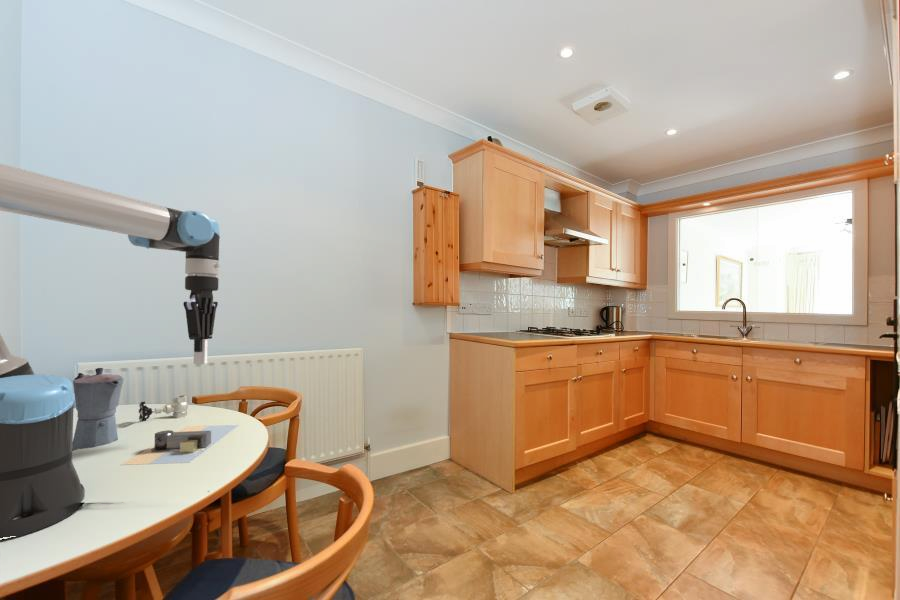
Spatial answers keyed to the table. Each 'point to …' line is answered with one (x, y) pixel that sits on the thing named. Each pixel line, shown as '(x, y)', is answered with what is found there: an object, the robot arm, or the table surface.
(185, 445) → the block
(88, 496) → the table surface
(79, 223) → the robot arm
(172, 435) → the latch bar
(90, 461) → the table surface
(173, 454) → the door panel
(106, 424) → the moka pot
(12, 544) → the table surface
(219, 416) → the table surface
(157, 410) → the valve
